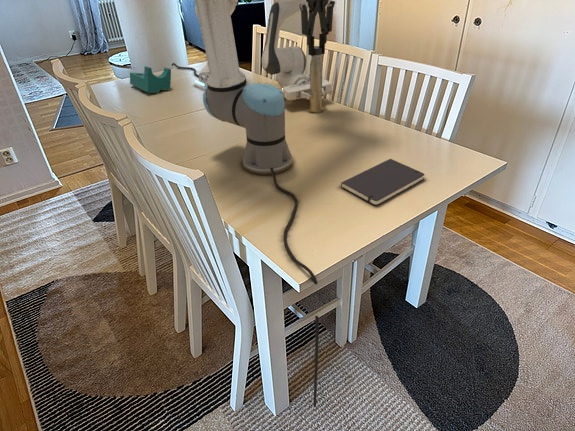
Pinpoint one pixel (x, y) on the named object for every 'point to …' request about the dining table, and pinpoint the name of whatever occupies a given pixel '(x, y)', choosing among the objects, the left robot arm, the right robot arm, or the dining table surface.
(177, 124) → the dining table surface
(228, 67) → the right robot arm
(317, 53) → the cap
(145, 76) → the green notched holder
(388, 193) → the notebook
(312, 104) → the bottle
